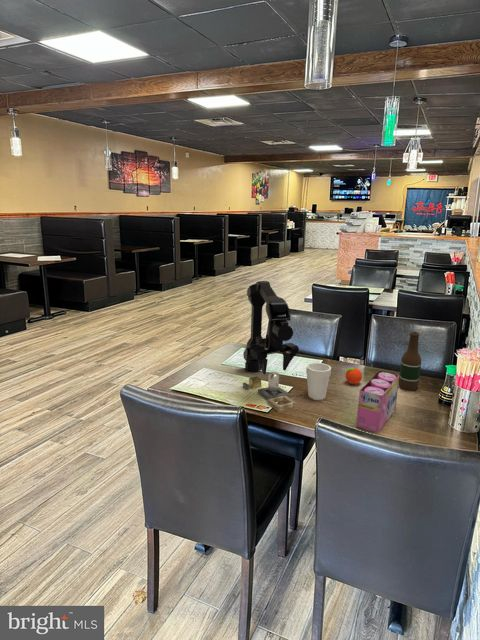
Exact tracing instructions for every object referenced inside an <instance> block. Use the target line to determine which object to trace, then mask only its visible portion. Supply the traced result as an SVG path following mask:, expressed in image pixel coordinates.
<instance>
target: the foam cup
mask: <svg viewBox="0 0 480 640" xmlns="http://www.w3.org/2000/svg"><path fill="white" fill-rule="evenodd" d="M305 369H306V370H305V373H306V381H307V382H306V383H307V395H308V397H309V398H311V399H312V400H315V401H322V400H324V399H326V397H327V396H326V395H327V391H328V386H329V382H330V378H331V375H332V366H330V365H329V364H326V363H322V362H311V363H308V364H306V368H305Z"/></svg>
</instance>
